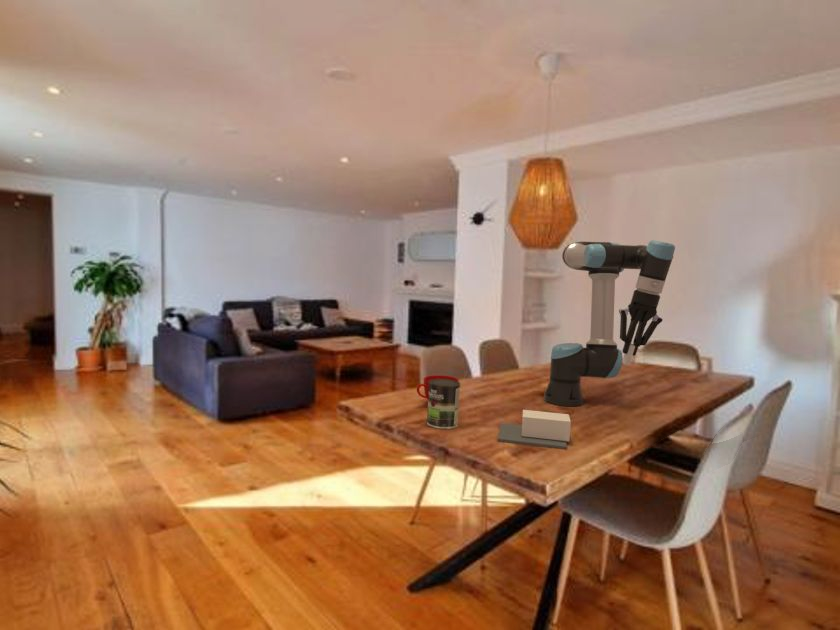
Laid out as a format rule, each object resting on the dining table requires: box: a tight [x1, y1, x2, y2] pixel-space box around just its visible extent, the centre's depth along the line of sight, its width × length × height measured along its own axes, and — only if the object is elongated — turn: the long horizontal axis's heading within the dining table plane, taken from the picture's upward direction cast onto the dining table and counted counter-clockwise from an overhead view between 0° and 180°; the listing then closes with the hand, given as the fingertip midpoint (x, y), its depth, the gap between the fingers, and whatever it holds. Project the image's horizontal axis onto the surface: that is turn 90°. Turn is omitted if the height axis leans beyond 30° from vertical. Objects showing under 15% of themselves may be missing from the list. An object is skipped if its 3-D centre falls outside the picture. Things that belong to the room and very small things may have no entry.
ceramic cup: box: [416, 375, 460, 400], centre depth 180 cm, size 13×17×10 cm
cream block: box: [521, 409, 572, 442], centre depth 150 cm, size 6×8×14 cm
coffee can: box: [426, 379, 461, 430], centre depth 159 cm, size 10×10×14 cm
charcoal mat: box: [497, 422, 568, 450], centre depth 151 cm, size 20×16×1 cm
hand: (625, 363), depth 154 cm, fingers closed
